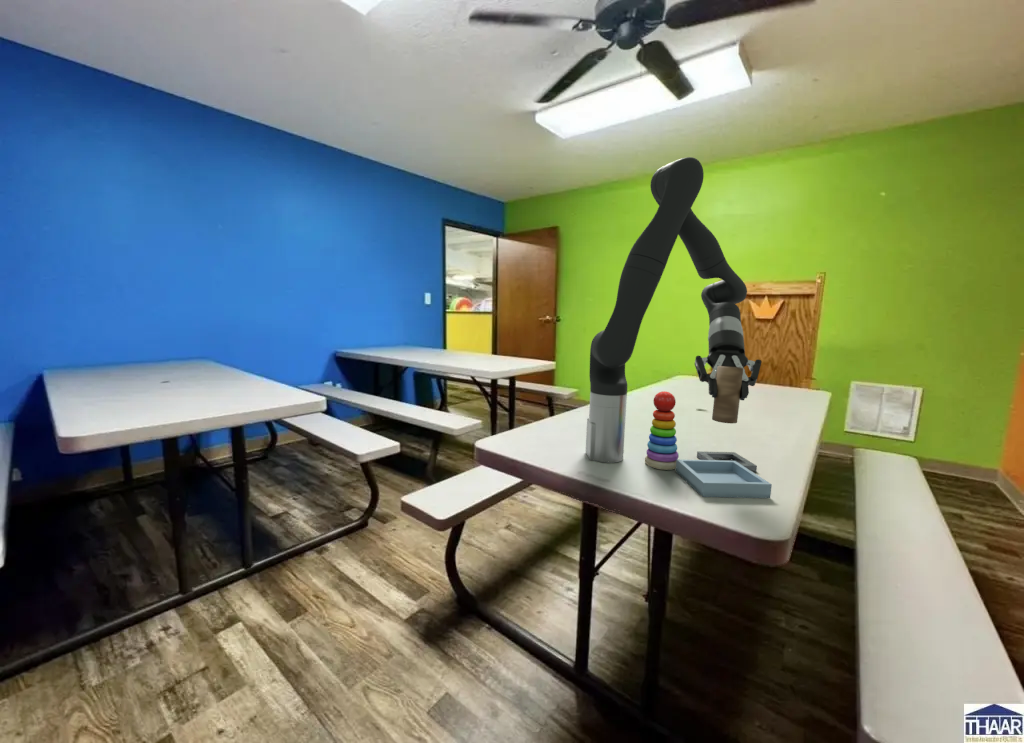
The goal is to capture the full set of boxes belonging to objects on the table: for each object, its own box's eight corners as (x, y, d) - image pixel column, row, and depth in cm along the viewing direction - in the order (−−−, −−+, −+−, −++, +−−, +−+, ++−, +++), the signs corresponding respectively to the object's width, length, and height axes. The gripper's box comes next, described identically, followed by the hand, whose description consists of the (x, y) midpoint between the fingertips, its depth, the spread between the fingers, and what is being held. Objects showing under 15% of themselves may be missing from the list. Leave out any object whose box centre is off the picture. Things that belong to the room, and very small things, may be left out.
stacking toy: (651, 457, 107) (656, 387, 105) (682, 464, 102) (688, 391, 100) (639, 465, 101) (644, 391, 99) (672, 473, 96) (678, 395, 94)
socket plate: (715, 470, 99) (715, 464, 99) (696, 456, 109) (697, 451, 109) (756, 471, 99) (756, 465, 99) (734, 457, 109) (734, 452, 109)
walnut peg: (719, 423, 88) (725, 368, 87) (707, 417, 93) (713, 365, 92) (741, 423, 89) (748, 369, 87) (729, 418, 94) (735, 366, 92)
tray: (702, 496, 84) (703, 482, 84) (675, 471, 98) (676, 459, 97) (770, 498, 84) (771, 484, 84) (733, 472, 98) (734, 460, 97)
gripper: (695, 327, 98) (695, 383, 88) (763, 330, 93) (771, 389, 83) (691, 348, 103) (690, 403, 94) (755, 351, 99) (761, 410, 89)
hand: (728, 396), depth 89 cm, fingers closed on walnut peg, 5 cm apart
